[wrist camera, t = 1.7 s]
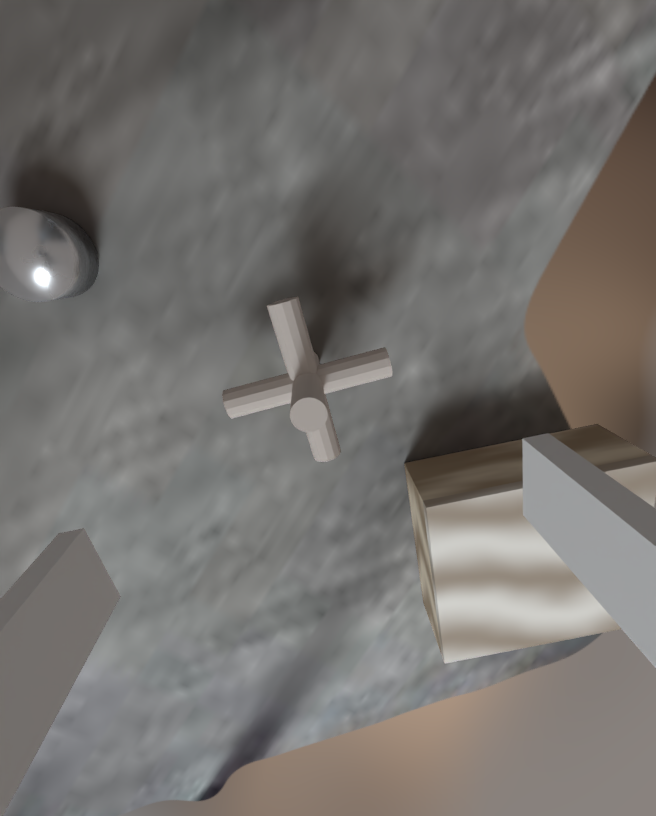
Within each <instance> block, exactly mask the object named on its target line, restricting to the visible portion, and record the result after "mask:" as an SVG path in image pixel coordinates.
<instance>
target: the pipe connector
mask: <svg viewBox="0 0 656 816" xmlns="http://www.w3.org/2000/svg"><path fill="white" fill-rule="evenodd" d="M267 308H268V311H269V315H270V318H271V321H272V324H273V327H274V331H275V334H276V337H277V340H278V344H279V347H280V350H281V353H282V356H283V360H284V363H285V366H286V369H287V374H283V375H279V376H275V377H272V378H268V379H264V380H260V381H257V382H253V383H249V384H245V385H242V386H238V387H234V388H231V389H227V390H223V394H222V396H223V403H224V406H225V409H226V411H227V413H228V415H229V417H231V418H235V417H239V416H243V415H247V414H250V413H254V412H258V411H262V410H266V409H269V408H273V407H277V406H281V405H284V404H288V403H291V408H290V419H291V422H292V424H293V425H294V426H295V427H296V428H297V429H299V430H301V431H304V432H306V434H307V437H308V440H309V443H310V447H311V450H312V453H313V456H314V459H315V460H316V461H319V462H326V461H330V460H333V459H335V458H336V457H338V456H339V455H340V452H341V449H340V445H339V442H338V438H337V435H336V431H335V427H334V424H333V420H332V417H331V413H330V409H329V406H328V402H327V399H326V395H325V394H326V393H330V392H334V391H338V390H341V389H345V388H349V387H353V386H356V385H360V384H364V383H368V382H372V381H375V380H379V379H383V378H387V377H391V376H392V367H391V363H390V358H389V355H388V352H387V350H386V348H385V347H384V348H380V349H377V350H373V351H369V352H365V353H362V354H358V355H354V356H350V357H347V358H343V359H339V360H335V361H332V362H328V363H324V364H320V363H319V358H318V355H317V354H316V353H315V352H313V348H312V344H311V341H310V337H309V334H308V330H307V326H306V323H305V319H304V316H303V312H302V308H301V305H300V301H299V298H298V297H291V298H287V299H283V300H280V301H276V302H274V303H271V304H269V305H267Z"/></svg>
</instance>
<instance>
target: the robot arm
mask: <svg viewBox="0 0 656 816" xmlns="http://www.w3.org/2000/svg"><path fill="white" fill-rule="evenodd" d="M522 447H523V516H524V517H525V518H526V519H527V520H528V521H529V522H530V524H531V525H532V526H533V527H534V528H535V529H536V531H537V532H538V533H539V534H540V535H541V536H542V537H543V539H544V540H545V541H546V542H547V543H548V544H549V546H550V547H551V548H552V549H553V550H554V551H555V552H556V554H557V555H558V556H559V557H560V558H561V559H562V561H563V562H564V563H565V564H566V565H567V566H568V567H569V569H570V570H571V571H572V572H573V573H574V574H575V576H576V577H577V578H578V579H579V580H580V581H581V582H582V584H583V585H584V586H585V587H586V588H587V589H588V591H589V592H590V593H591V594H592V595H593V596H594V597H595V599H596V600H597V601H598V602H599V603H600V604H601V606H602V607H603V608H604V609H605V610H606V611H607V613H608V614H609V615H610V616H611V617H612V618H613V619H614V621H615V622H616V623H617V624H618V625H619V626H620V628H621V629H622V630H623V631H624V632H625V633H626V634H627V636H628V637H629V638H630V639H631V640H632V641H633V642H634V644H635V645H636V646H637V647H638V648H639V649H640V651H641V652H642V653H643V654H644V655H645V656H646V657H647V659H648V660H649V661H650V662H651V663H652V664H653V666H654V667H655V668H656V509H655V508H654V507H653V506H651V505H650V504H648V503H647V502H646V501H644V500H643V499H641V498H640V497H638V496H637V495H636V494H634V493H633V492H631V491H630V490H628V489H627V488H626V487H624V486H623V485H621V484H620V483H619V482H617V481H616V480H614V479H613V478H611V477H610V476H609V475H607V474H606V473H604V472H603V471H602V470H600V469H599V468H597V467H596V466H594V465H593V464H592V463H590V462H589V461H587V460H586V459H584V458H583V457H582V456H580V455H579V454H577V453H576V452H575V451H573V450H572V449H570V448H569V447H567V446H566V445H565V444H563V443H562V442H560V441H559V440H557V439H556V438H555V437H553V436H552V435H550V434H549V433H546V434H541V435H537V436H532V437H527V438H522ZM120 597H121V596H120V595H119V593H118V591H117V589H116V587H115V585H114V583H113V581H112V580H111V578H110V576H109V574H108V572H107V570H106V568H105V567H104V565H103V563H102V561H101V559H100V557H99V555H98V554H97V552H96V550H95V548H94V546H93V544H92V542H91V541H90V539H89V537H88V535H87V533H86V531H85V529H84V528H83V529H78V530H73V531H69V532H64V533H59V534H58V535H57V536H56V537H55V538H54V539H53V541H52V542H51V543H50V544H49V545H48V546H47V547H46V548H45V550H44V551H43V552H42V553H41V554H40V555H39V556H38V557H37V559H36V560H35V561H34V562H33V563H32V564H31V565H30V567H29V568H28V569H27V570H26V571H25V572H24V573H23V574H22V576H21V577H20V578H19V579H18V580H17V581H16V582H15V583H14V585H13V586H12V587H11V588H10V589H9V590H8V591H7V593H6V594H5V595H4V596H3V597H2V598H1V599H0V816H3V815H4V813H5V811H6V809H7V807H8V806H9V804H10V802H11V800H12V798H13V796H14V794H15V792H16V791H17V789H18V787H19V785H20V783H21V781H22V779H23V778H24V776H25V774H26V772H27V770H28V768H29V766H30V764H31V763H32V761H33V759H34V757H35V755H36V753H37V751H38V750H39V748H40V746H41V744H42V742H43V740H44V738H45V737H46V735H47V733H48V731H49V729H50V727H51V725H52V723H53V722H54V720H55V718H56V716H57V714H58V712H59V710H60V709H61V707H62V705H63V703H64V701H65V699H66V697H67V696H68V694H69V692H70V690H71V688H72V686H73V684H74V682H75V681H76V679H77V677H78V675H79V673H80V671H81V669H82V668H83V666H84V664H85V662H86V660H87V658H88V656H89V655H90V653H91V651H92V649H93V647H94V645H95V643H96V641H97V640H98V638H99V636H100V634H101V632H102V630H103V628H104V627H105V625H106V623H107V621H108V619H109V617H110V615H111V613H112V612H113V610H114V608H115V606H116V604H117V602H118V600H119V599H120Z"/></svg>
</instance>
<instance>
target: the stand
mask: <svg viewBox="0 0 656 816" xmlns="http://www.w3.org/2000/svg"><path fill="white" fill-rule="evenodd" d="M550 435H552V436H553V437H555V438H556V439H557V440H559V441H560V442H562V443H563V444H565V445H566V446H567V447H569V448H570V449H572V450H573V451H575V452H576V453H577V454H579V455H580V456H582V457H583V458H584V459H586V460H587V461H589V462H590V463H592V464H593V465H594V466H596V467H597V468H599V469H600V470H602V471H603V472H604V473H606V474H607V475H609V476H610V477H611V478H613V479H614V480H616V481H617V482H619V483H620V484H621V485H623V486H624V487H626V488H627V489H628V490H630V491H631V492H633V493H634V494H636V495H637V496H638V497H640V498H641V499H643V500H644V501H646V502H647V503H648V504H650V505H651V506H653V507H654V503H655V496H656V457H654V456H652V455H651V454H649V453H647V452H645V451H644V450H642V449H640V448H638V447H637V446H635V445H633V444H631V443H630V442H628V441H626V440H624V439H623V438H621V437H619V436H617V435H616V434H614V433H612V432H610V431H609V430H607V429H605V428H603V427H601V426H600V425H598V424H595V425H590V426H585V427H580V428H575V429H570V430H565V431H560V432H555V433H550ZM404 465H405V472H406V479H407V487H408V494H409V501H410V508H411V516H412V523H413V530H414V537H415V545H416V552H417V559H418V566H419V574H420V581H421V588H422V596H423V603H424V606H425V609H426V611H427V614H428V617H429V620H430V623H431V626H432V629H433V631H434V634H435V637H436V640H437V643H438V646H439V649H440V652H441V654H442V657H443V660H444V663H450V662H455V661H460V660H465V659H470V658H475V657H480V656H486V655H491V654H496V653H501V652H506V651H511V650H516V649H522V648H527V647H532V646H537V645H542V644H547V643H552V642H557V641H563V640H568V639H573V638H578V637H583V636H588V635H593V634H599V633H604V632H609V631H614V630H619V629H621V628H620V626H619V625H618V624H617V623H616V622H615V621H614V619H613V618H612V617H611V616H610V615H609V614H608V613H607V611H606V610H605V609H604V608H603V607H602V606H601V604H600V603H599V602H598V601H597V600H596V599H595V597H594V596H593V595H592V594H591V593H590V592H589V591H588V589H587V588H586V587H585V586H584V585H583V584H582V582H581V581H580V580H579V579H578V578H577V577H576V576H575V574H574V573H573V572H572V571H571V570H570V569H569V567H568V566H567V565H566V564H565V563H564V562H563V561H562V559H561V558H560V557H559V556H558V555H557V554H556V552H555V551H554V550H553V549H552V548H551V547H550V546H549V544H548V543H547V542H546V541H545V540H544V539H543V537H542V536H541V535H540V534H539V533H538V532H537V531H536V529H535V528H534V527H533V526H532V525H531V524H530V522H529V521H528V520H527V519H526V518H525V517H524V516H523V447H522V439H521V440H516V441H511V442H506V443H501V444H496V445H491V446H486V447H481V448H476V449H471V450H466V451H461V452H456V453H452V454H447V455H442V456H437V457H432V458H427V459H422V460H417V461H412V462H407V463H404Z"/></svg>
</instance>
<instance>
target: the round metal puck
mask: <svg viewBox="0 0 656 816" xmlns="http://www.w3.org/2000/svg"><path fill="white" fill-rule="evenodd" d="M98 267H99V263H98V256H97V252H96V249H95V246H94V244H93V242H92V241H91V239H90V237H89V236H88V235H87V233H86V232H85V231H84V230H83V229H82V228H81V227H80V226H79V225H78V224H77V223H75V222H74V221H72V220H71V219H69V218H67V217H65V216H62V215H60V214H56V213H51V212H45V211H39V210H33V209H28V208H22V207H4V208H0V287H1V288H2V289H4V290H5V291H6V292H8V293H10V294H11V295H13V296H15V297H17V298H20V299H23V300H26V301H31V302H46V301H52V300H57V299H63V298H68V297H74V296H78V295H80V294H82V293H84V292H86V291H87V290H88V289H89V288H90V287H91V286H92V285H93V284H94V282H95V280H96V277H97V274H98Z"/></svg>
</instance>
